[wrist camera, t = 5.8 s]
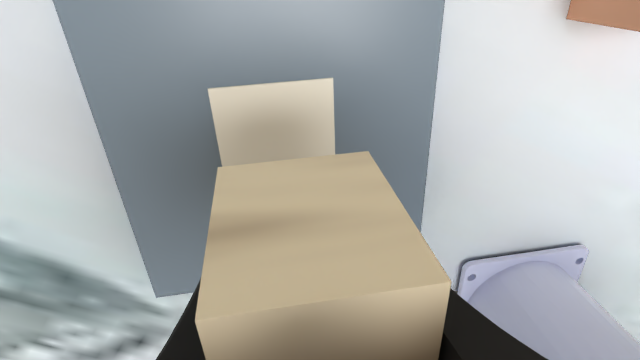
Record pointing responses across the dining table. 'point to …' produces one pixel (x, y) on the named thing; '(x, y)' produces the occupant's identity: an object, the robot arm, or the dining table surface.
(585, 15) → the terracotta brick
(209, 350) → the beech brick
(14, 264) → the dining table surface
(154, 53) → the baseplate
